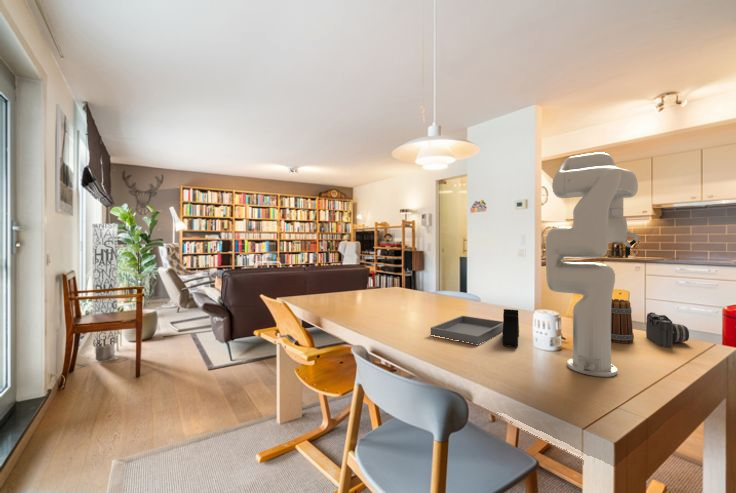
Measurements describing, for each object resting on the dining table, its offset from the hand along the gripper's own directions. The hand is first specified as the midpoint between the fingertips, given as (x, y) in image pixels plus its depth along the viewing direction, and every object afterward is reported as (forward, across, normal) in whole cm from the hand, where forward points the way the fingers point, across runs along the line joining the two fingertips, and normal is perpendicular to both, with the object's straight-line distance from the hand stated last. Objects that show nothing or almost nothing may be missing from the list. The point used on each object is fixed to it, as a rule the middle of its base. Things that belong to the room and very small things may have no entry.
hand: (611, 257), depth 135 cm
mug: (+32, 0, -6) cm, 32 cm away
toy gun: (+32, -28, -31) cm, 52 cm away
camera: (+32, +17, +3) cm, 36 cm away
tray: (+31, -45, -31) cm, 63 cm away
